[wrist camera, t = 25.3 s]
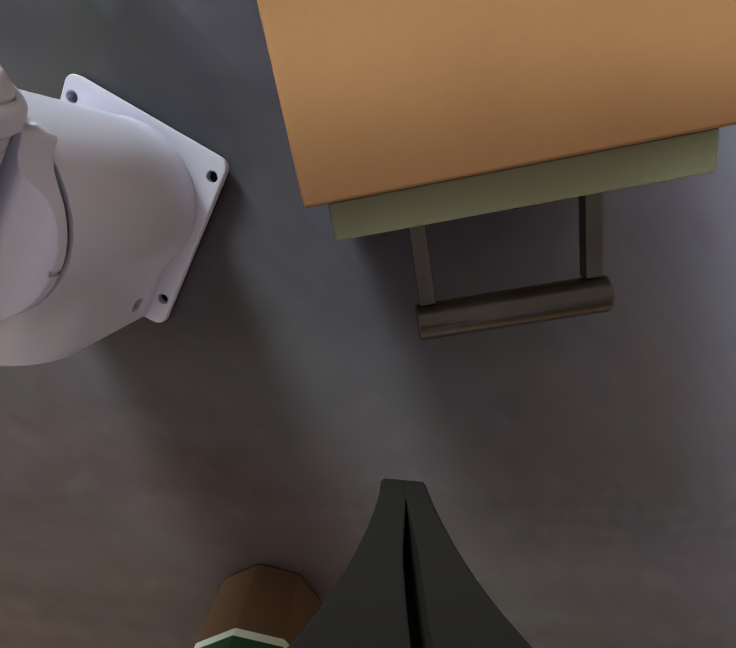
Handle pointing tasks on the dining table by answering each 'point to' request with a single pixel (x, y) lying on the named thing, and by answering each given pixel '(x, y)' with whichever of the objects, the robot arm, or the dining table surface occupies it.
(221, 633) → the beer bottle
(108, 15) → the dining table surface
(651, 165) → the green drawer
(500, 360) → the dining table surface
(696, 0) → the wooden drawer box
